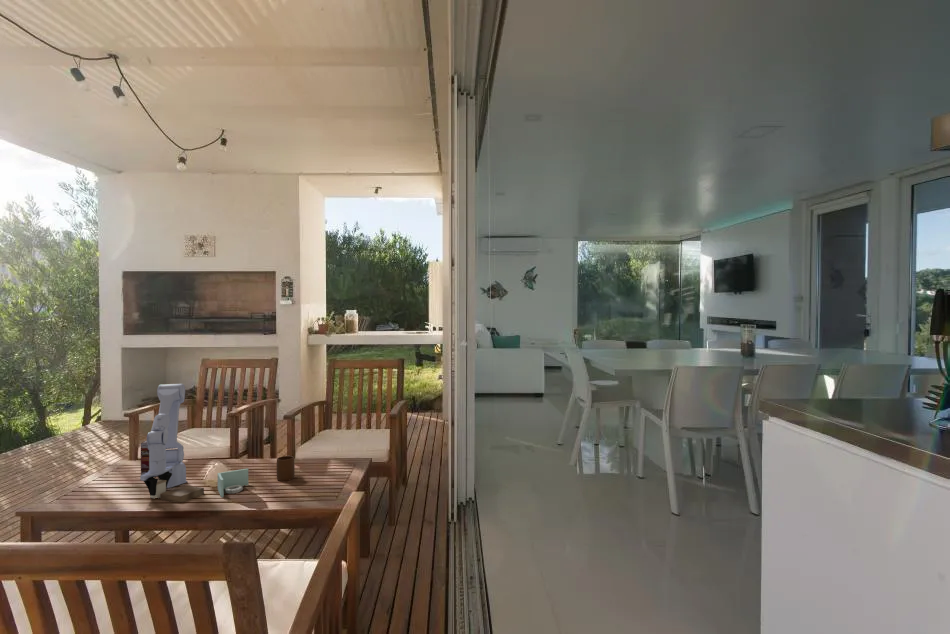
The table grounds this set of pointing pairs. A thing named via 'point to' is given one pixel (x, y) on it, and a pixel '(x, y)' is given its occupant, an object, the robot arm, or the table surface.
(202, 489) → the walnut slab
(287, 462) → the mug
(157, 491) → the beige rectangular block
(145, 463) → the supplement box
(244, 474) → the l-shaped corner panel
